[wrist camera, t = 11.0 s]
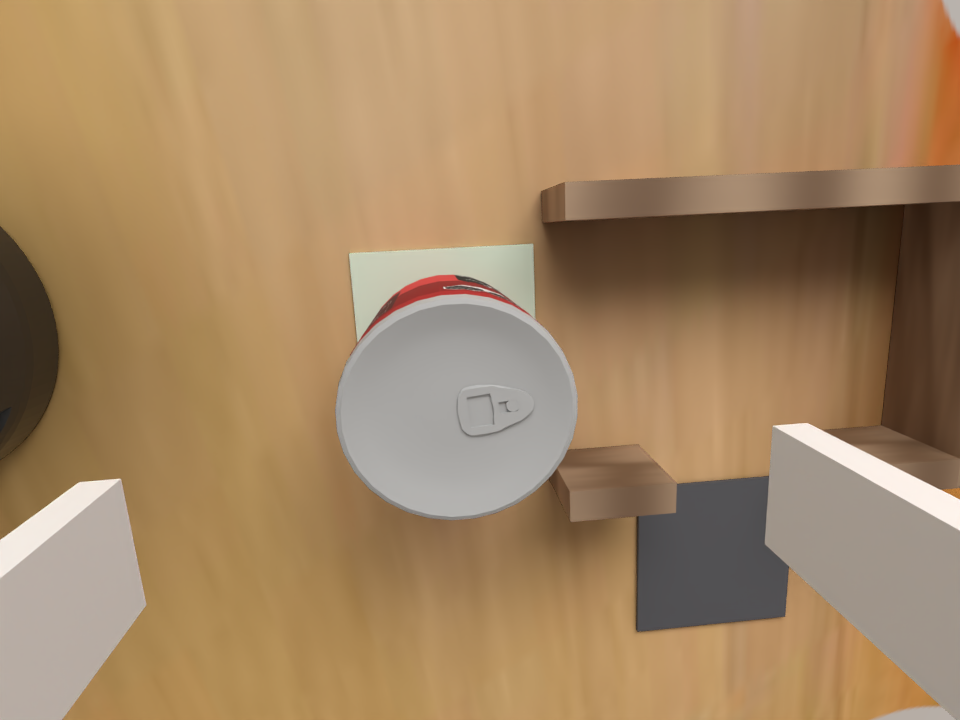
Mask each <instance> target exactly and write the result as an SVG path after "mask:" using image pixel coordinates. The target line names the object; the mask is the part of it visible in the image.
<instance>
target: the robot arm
mask: <svg viewBox="0 0 960 720" xmlns="http://www.w3.org/2000/svg"><path fill="white" fill-rule="evenodd" d="M57 369H58V337H57V330H56V324H55V319H54V315H53V311H52V308H51V305H50V302H49V299H48V297H47V294H46V292H45V289H44V287H43V285H42V283H41V281H40V279H39V277H38V275H37V273H36V272H35V270H34V268H33V266H32V265H31V263H30V262H29V260H28V259H27V257H26V256H25V254H24V253H23V252H22V250H21V249H20V248H19V247H18V245H17V244H16V243H15V242H14V240H13V239H12V238H11V237H10V236H9V235H8V234H7V233H6V232H5V231H4V230H3V229H2V228H1V227H0V460H1V459H2V458H4V457H5V456H6V455H8V454H9V453H10V452H12V451H13V450H14V449H15V448H16V447H17V446H19V445H20V444H21V443H22V442H23V441H24V440H25V439H26V438H27V436H28V435H29V434H30V433H31V432H32V430H33V429H34V428H35V426H36V425H37V423H38V422H39V420H40V419H41V417H42V415H43V413H44V411H45V409H46V407H47V405H48V403H49V401H50V398H51V395H52V392H53V389H54V385H55V381H56V375H57ZM765 545H766V546H767V547H768V548H770V549H771V550H772V551H773V552H774V553H775V554H776V555H777V556H778V557H779V558H780V559H782V560H783V561H784V562H785V563H786V564H787V565H788V566H789V567H790V568H791V569H792V570H794V571H795V572H796V573H797V574H798V575H799V576H800V577H801V578H802V579H803V580H804V581H806V582H807V583H808V584H809V585H810V586H811V587H812V588H813V589H814V590H815V591H816V592H817V593H819V594H820V595H821V596H822V597H823V598H824V599H825V600H826V601H827V602H828V603H829V604H831V605H832V606H833V607H834V608H835V609H836V610H837V611H838V612H839V613H840V614H841V615H843V616H844V617H845V618H846V619H847V620H848V621H849V622H850V623H851V624H852V625H853V626H855V627H856V628H857V629H858V630H859V631H860V632H861V633H862V634H863V635H864V636H865V637H866V638H868V639H869V640H870V641H871V642H872V643H873V644H874V645H875V646H876V647H877V648H878V649H880V650H881V651H882V652H883V653H884V654H885V655H886V656H887V657H888V658H889V659H890V660H892V661H893V662H894V663H895V664H896V665H897V666H898V667H899V668H900V669H901V670H902V671H904V672H905V673H906V674H907V675H908V676H909V677H910V678H911V679H912V680H913V681H914V682H916V683H917V684H918V685H919V686H920V687H921V688H922V689H923V690H924V691H925V692H926V693H927V694H929V695H930V696H931V697H932V698H933V699H934V700H935V701H936V702H937V703H938V704H939V705H941V706H942V707H943V708H944V709H945V710H946V711H947V712H948V713H949V714H950V715H952V716H953V717H954V718H955V719H956V720H960V499H958V498H956V497H954V496H952V495H950V494H948V493H946V492H944V491H942V490H940V489H938V488H936V487H934V486H932V485H930V484H928V483H926V482H924V481H922V480H920V479H918V478H916V477H914V476H912V475H910V474H908V473H906V472H904V471H902V470H900V469H898V468H896V467H894V466H892V465H890V464H888V463H886V462H884V461H882V460H880V459H878V458H876V457H874V456H872V455H870V454H868V453H866V452H864V451H862V450H860V449H858V448H856V447H854V446H852V445H850V444H848V443H846V442H844V441H842V440H840V439H838V438H836V437H834V436H832V435H830V434H828V433H826V432H824V431H822V430H820V429H818V428H816V427H814V426H812V425H810V424H808V423H801V424H789V425H777V426H773V430H772V444H771V459H770V474H769V488H768V503H767V517H766V532H765ZM145 606H146V601H145V596H144V591H143V586H142V581H141V576H140V571H139V566H138V561H137V556H136V551H135V546H134V541H133V536H132V531H131V526H130V521H129V516H128V511H127V506H126V501H125V496H124V491H123V486H122V481H121V479H112V480H99V481H87V482H79V483H77V484H76V485H74V486H73V487H72V488H70V489H69V490H68V491H66V492H65V493H64V494H62V495H61V496H60V497H58V498H57V499H55V500H54V501H53V502H51V503H50V504H49V505H47V506H46V507H45V508H43V509H42V510H40V511H39V512H38V513H36V514H35V515H34V516H32V517H31V518H30V519H28V520H27V521H25V522H24V523H23V524H21V525H20V526H19V527H17V528H16V529H15V530H13V531H12V532H10V533H9V534H8V535H6V536H5V537H4V538H2V539H1V540H0V720H62V719H63V718H64V716H65V715H66V714H67V712H68V711H69V710H70V708H71V707H72V706H73V704H74V703H75V701H76V700H77V699H78V697H79V696H80V695H81V693H82V692H83V691H84V689H85V688H86V687H87V685H88V684H89V682H90V681H91V680H92V678H93V677H94V676H95V674H96V673H97V672H98V670H99V669H100V667H101V666H102V665H103V663H104V662H105V661H106V659H107V658H108V657H109V655H110V654H111V653H112V651H113V650H114V648H115V647H116V646H117V644H118V643H119V642H120V640H121V639H122V638H123V636H124V635H125V634H126V632H127V631H128V629H129V628H130V627H131V625H132V624H133V623H134V621H135V620H136V619H137V617H138V616H139V614H140V613H141V612H142V610H143V609H144V608H145Z"/></svg>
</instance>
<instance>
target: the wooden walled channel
mask: <svg viewBox="0 0 960 720" xmlns="http://www.w3.org/2000/svg"><path fill="white" fill-rule="evenodd" d="M541 192H542V223H544V222H564V221H585V220H605V219H626V218H646V217H667V216H687V215H708V214H728V213H748V212H769V211H789V210H810V209H830V208H851V207H871V206H892V205H905V208H904V218H903V227H902V236H901V246H900V255H899V265H898V274H897V283H896V293H895V302H894V312H893V321H892V330H891V340H890V349H889V359H888V368H887V377H886V387H885V396H884V405H883V415H882V424H881V425H880V426H868V427H855V428H842V429H830V430H822V431H824V432H826V433H828V434H830V435H832V436H834V437H836V438H838V439H840V440H842V441H844V442H846V443H848V444H850V445H852V446H854V447H856V448H858V449H860V450H862V451H864V452H866V453H868V454H870V455H872V456H874V457H876V458H878V459H880V460H882V461H884V462H886V463H888V464H890V465H892V466H894V467H896V468H898V469H900V470H902V471H904V472H906V473H908V474H910V475H912V476H914V477H916V478H918V479H920V480H922V481H924V482H926V483H928V484H930V485H932V486H934V487H936V488H938V489H940V490H941V489H953V488H960V165H944V166H921V167H898V168H875V169H852V170H830V171H807V172H784V173H761V174H738V175H716V176H693V177H670V178H647V179H624V180H601V181H579V182H564V183H561V184H559V185H556V186H553V187H551V188H548V189H545V190H543V191H541ZM549 480H550V482H551V484H552V486H553V488H554V490H555V492H556V494H557V496H558V498H559V500H560V502H561V504H562V506H563V508H564V510H565V512H566V514H567V516H568V518H569V520H570V522H577V521H589V520H600V519H612V518H623V517H634V516H646V515H657V514H668V513H676V494H677V483H676V482H675V481H674V480H673V479H672V478H671V477H670V476H669V475H668V474H667V473H666V472H665V471H664V470H663V469H662V468H661V467H660V466H659V465H658V464H657V463H656V462H655V461H654V460H653V459H652V458H651V457H650V456H649V455H648V454H647V453H646V452H645V451H644V450H643V449H642V448H641V446H640V445H626V446H613V447H600V448H588V449H575V450H567V452H566V454H565V456H564V458H563V460H562V461H561V463H560V464H559V465H558V467H557V468H556V470H555V471H554V473H553V474H552V475H551V476H550V477H549Z"/></svg>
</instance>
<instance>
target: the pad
mask: <svg viewBox="0 0 960 720" xmlns="http://www.w3.org/2000/svg"><path fill="white" fill-rule="evenodd" d="M349 259H350V270H351V280H352V291H353V301H354V312H355V322H356V332H357V343H358V342H359V340H360V338H361V337H362V335H363V334H364V332H365V331H366V329H367V328H368V326H369V325H370V323H371V322H372V321H373V319H374V318H375V316H376V315H377V313H378V312H379V310H380V309H381V307H382V306H383V305H384V304H385V303H386V302H387V301H388V300H389V299H390V298H391V297H392V296H393V295H394V294H395V293H397V292H398V291H399V290H401V289H402V288H404V287H405V286H407V285H409V284H411V283H413V282H416V281H418V280H420V279H423V278H428V277H432V276H436V275H460V276H466V277H471V278H474V279H477V280H479V281H482V282H485V283H487V284H488V285H490V286H492V287H493V288H495V289H497V290H498V291H500V292H501V293H502V294H504V295H505V296H506V297H508V298H509V299H510V300H512V301H513V302H514V303H516V304H517V305H518V306H520V307H521V308H522V309H524V310H525V311H526V312H528V313H529V314H530V315H531V316H532V317H533V318H534V319H535V289H534V253H533V244H518V245H499V246H480V247H460V248H441V249H422V250H402V251H383V252H363V253H349Z"/></svg>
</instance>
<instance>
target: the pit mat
mask: <svg viewBox="0 0 960 720" xmlns="http://www.w3.org/2000/svg"><path fill="white" fill-rule="evenodd" d="M768 488H769V476H764V477H753V478H741V479H729V480H717V481H705V482H693V483H681V484H677V494H676V513H668V514H657V515H646V516H638V534H637V622H636V630H637V631H638V632H639V631H649V630H658V629H668V628H678V627H688V626H697V625H707V624H717V623H726V622H736V621H746V620H755V619H765V618H775V617H785V611H786V597H787V584H788V570H789V566H788V565H787V564H786V563H785V562H784V561H783V560H782V559H780V558H779V557H778V556H777V555H776V554H775V553H774V552H773V551H772V550H771V549H770V548H768V547H767V546H766V545H765V532H766V517H767V503H768Z"/></svg>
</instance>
